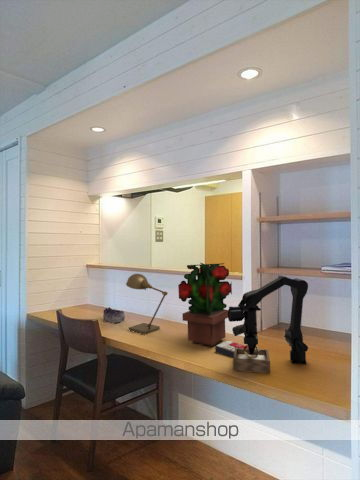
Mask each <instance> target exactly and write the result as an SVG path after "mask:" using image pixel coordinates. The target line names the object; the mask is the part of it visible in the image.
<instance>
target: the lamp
mask: <svg viewBox="0 0 360 480" xmlns="http://www.w3.org/2000/svg"><path fill="white" fill-rule="evenodd" d="M126 281H127V282H126V283H125V286H126V287H128V288H130V289H133V290H144V291H146V290H147V289H151V290H154V291H158V292H159V293H161V295H163V296H162V297H161V300H160V302H159V303H158V305H157V308H156V309H155V312H154V314H153V316H152V318H151V320H150V322H149V323H146V322H141V323H140V324H136V325H132V326H129V327H128V331H129V330H130V331H129V332H132V331H134V332H133V333H136V332H137V333H136V334H139V333H141V334H140V335H143V334H144V336H146V335H149V334H150V333H154V332H157V331H160V329H161V327H160V326H159V325H155V324H152V323H153V321H154V319H155V318H156V315H157V314H158V311H159V309H160V307H161V305H162V303H163V302H164V300H165V297H166V296H167V295H168V294H169V293H168V291H163V290H162V289H161V290H160V289H158V288H156V287H153V286H152V285H151V284H150V282H148V279H147V277H146V276H145V275H144V274H141V273H134V274H131V275H130V276H129V277H128V278H127V279H126ZM148 333H149V334H148ZM145 334H146V335H145Z"/></svg>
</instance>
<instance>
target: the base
mask: <svg viewBox="0 0 360 480" xmlns="http://www.w3.org/2000/svg"><path fill="white" fill-rule="evenodd" d="M246 353H247V354H248V355H249V356H253V357H255V356H256V355H257V349H256V348H255V350H254V352H253V355H250V352H249V349H246ZM270 359H271V358H270V351H269V349H263V348H262V349H261V348H259V355H258V356H257V357H256V358H254V359H251V358H248V357H247V356H246V355H245V353H244V348H235V351H234V358H233V360H232V361H233V371H234V370H236V371H235V372H243V371H251V372H250V373H260V372H261V373H262V374H263V373H265V374H271V360H270Z"/></svg>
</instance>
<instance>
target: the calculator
mask: <svg viewBox="0 0 360 480" xmlns="http://www.w3.org/2000/svg"><path fill="white" fill-rule="evenodd" d="M244 347H245V344H241V343H238V342H235V341H230V340H227V341H224V342H221V343H219V344H216V345H215V348H214V349H215V354H216V353H217V354H219V355H225V356H227V357H230V358H234V351H235V348H244ZM246 349H249V348H248V347H246Z"/></svg>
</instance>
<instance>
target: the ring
mask: <svg viewBox="0 0 360 480" xmlns="http://www.w3.org/2000/svg"><path fill="white" fill-rule="evenodd" d="M244 346H245V347H244V353H245V355H246V356H247V357H248V358H251V359H254V358H256V357H257V356H258V355H259V349H260V348H259V346H258V344H257V345H256V347H255V349H257V355H256V356H255V357H253V356H249V355H248V354H247V353H246V347H248V344H244Z"/></svg>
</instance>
